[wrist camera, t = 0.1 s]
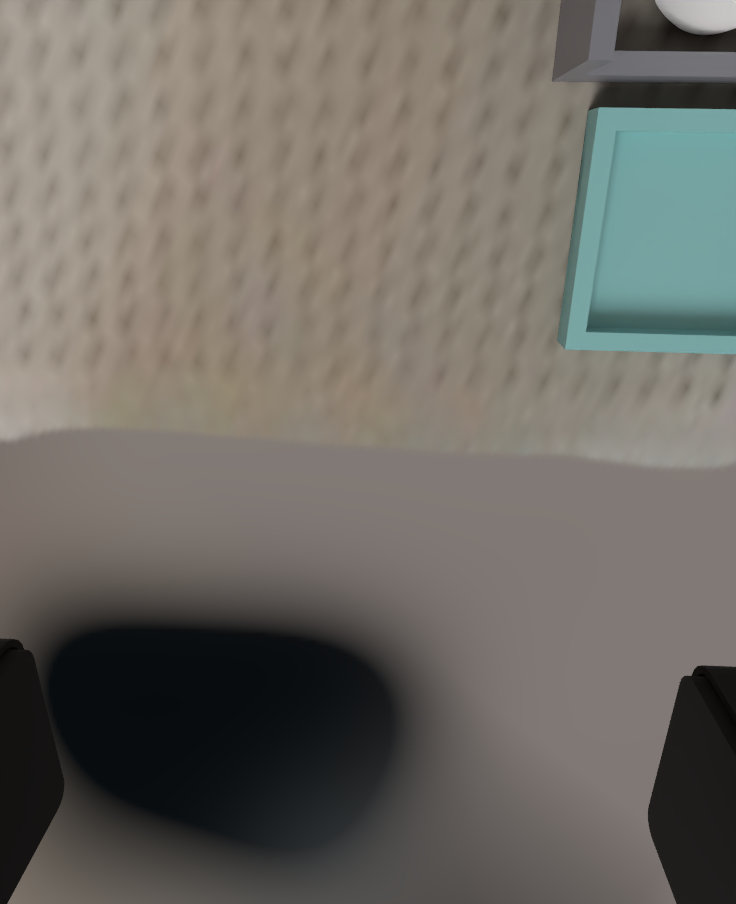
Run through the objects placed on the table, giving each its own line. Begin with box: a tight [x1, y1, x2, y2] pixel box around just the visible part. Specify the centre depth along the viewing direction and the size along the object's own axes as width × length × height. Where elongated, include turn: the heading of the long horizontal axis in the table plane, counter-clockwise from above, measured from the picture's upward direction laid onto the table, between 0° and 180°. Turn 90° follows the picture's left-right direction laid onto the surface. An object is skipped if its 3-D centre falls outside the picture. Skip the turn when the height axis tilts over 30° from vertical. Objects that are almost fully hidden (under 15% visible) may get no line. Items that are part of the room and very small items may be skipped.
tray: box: [557, 107, 736, 354], centre depth 35 cm, size 12×12×2 cm
